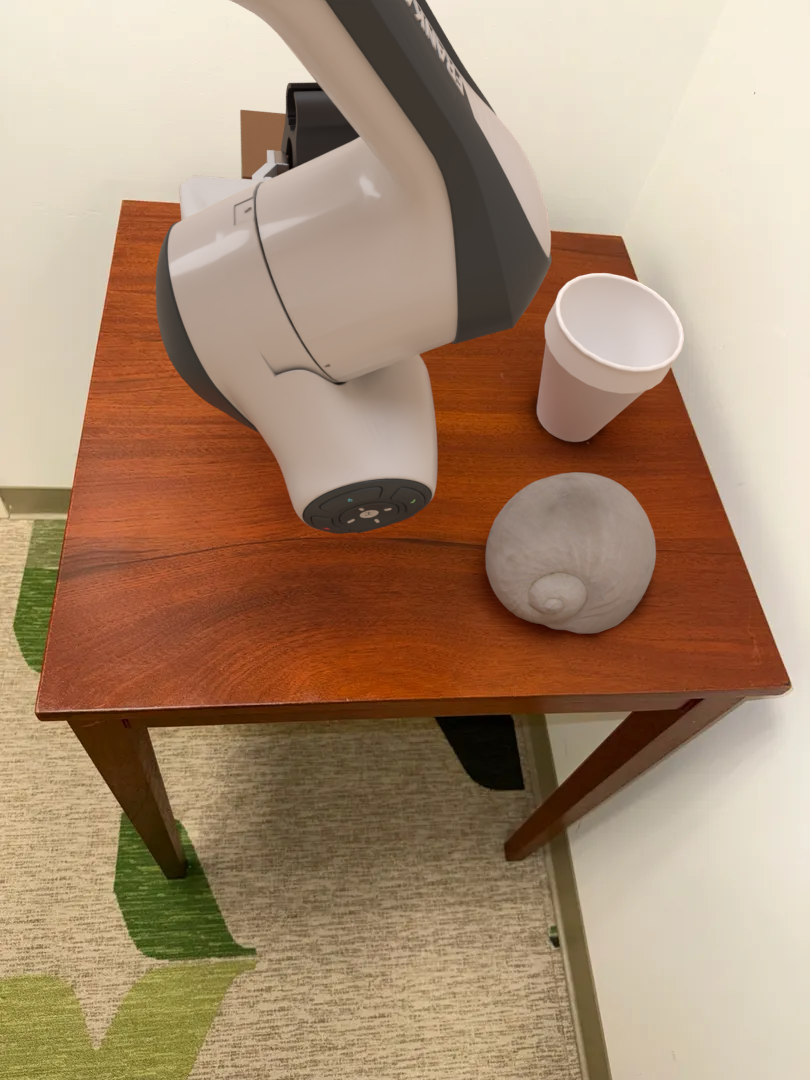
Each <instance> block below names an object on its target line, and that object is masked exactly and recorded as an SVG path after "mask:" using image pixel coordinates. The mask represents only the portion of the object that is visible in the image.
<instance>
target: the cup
mask: <svg viewBox="0 0 810 1080" xmlns="http://www.w3.org/2000/svg"><path fill="white" fill-rule="evenodd" d="M681 322H682V321H681V320H680V318H679V316H678V314H677V312H676V311H675V310H674V308H673V307H672V306H671V305H670V303H669V302H668V301H667V300H666V299H665V298H664V297H663V296H661V295H660V294H659V293H658V292H656V291H655V290H653V289H652V288H650V287H648V286H646V285H645V284H643V283H641V282H640V281H638V280H635V279H631V278H630V277H628V276H624V275H618V274H613V273H608V272H607V273H606V272H601V273H599V272H592V273H587V274H583V275H579V276H577V277H574V278H573V279H571V280H569V281H567V282H566V283H565V284H564V285H563V286H562V287H561V288H560V290H559V291H558V292H557V296H556V298H555V301H554V303H553V305H552V307H551V308H550V311H549V312H548V314H547V317H546V319H545V323H544V339H545V344H544V352H543V359H542V366H541V374H540V379H539V388H538V395H537V402H536V415H537V418H538V422H539V423H540V425H541V426H542V427H543V429H545V430H546V431H547V432H548V433H549V434H550V435H552V436H554V437H555V438H557V439H560V440H562V441H565V442H570V443H571V442H572V443H579V442H581V443H582V442H584V441H588V440H590V439H591V438H592V437H594V436H595V435H596V434H597V433H598V432H600V430H602V429H603V428H604V427H606V425H608V423H610V422H611V421H612V420H614V419H615V418H616V417H617V416H618V415H619V414H620V413H621V412H622V411H624V410H625V409H626V408H627V407H628V406H629V405H631V404H632V403H633V402H634V401H635V400H636V399H638V398H639V397H640V396H642V394H644V393H645V392H646V391H648V390H651V389H653V388H654V387H656V386H657V385H659V384H660V383H662V382H663V380H664V378H665V377H666V376H667V374H668V372H670V369H671V367H672V366H673V364H674V362H675V361H676V360H677V359H678V357H679V355H680V354H681V353H682V351H683V347H684V341H685V333H684V328H683V324H682V323H681Z"/></svg>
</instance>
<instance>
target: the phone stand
mask: <svg viewBox="0 0 810 1080" xmlns="http://www.w3.org/2000/svg"><path fill="white" fill-rule="evenodd" d="M285 114H286V117H285V126H284V132H283V139H282V145H281V151H283V152H286V153H288V159H289V170H291V169H293V168H295V167H298V166H300V165H302V164H304V163H306V162H308V161H310V160H313V159H315V158H317V157H319V156H321V155H323V154H325V153H328V152H330V151H332V150H334V149H336V148H338V147H341V146H343V145H345V144H347V143H349V142H351V141H353V140H355V139H357V138H358V137H360V136H359V134H358V133H357V132H356V131H355V129H354V128H353V127H352V126H351V124H350V123H349V122H348V121H347V119H346V118H345V117H344V116H343V114H342V113H341V112H340V111H339V110H338V108H337V107H336V106H335V105H334V103H333V102H332V101H331V100H330V98H329V97H328V96H327V95H326V93H325V92H324V91H323V90H322V88H321V87H320V86H319V85H318V83H317V82H316V81H315V82H314V81H313V82H311V81H309V82H288V83H287V85H286V89H285Z"/></svg>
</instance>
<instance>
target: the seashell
mask: <svg viewBox="0 0 810 1080" xmlns="http://www.w3.org/2000/svg"><path fill="white" fill-rule="evenodd" d="M656 546H657V545H656V538H655V534H654V529H653V527H652V524H651V522H650V519H649V517H648V514H647V513H646V512H645V510H644V508H643V507H642V505H641V503H639V501H638V500H637V498H636V497H635V495H633V493H632V492H631V491H630V490H628V489H627V488H625V487H624V486H623V485H622V484H620V483H618V482H617V481H616V480H613V479H611V478H609V477H607V476H603V475H600V474H596V473H591V472H580V471H578V472H577V471H576V472H575V471H573V472H565V473H564V472H563V473H559V474H554V475H550V476H547V477H544V478H541V479H538V480H535V481H533V482H531V483H529V484H527V485H526V486H525V487H523V488H522V489H520V490H519V491H518V492H516V493H515V494H514V495H513V496H512V497H511V498H510V499H508V501H507V502H506V504H504V505H503V507H502V508H501V510H500V511H499V512H498V514H497V515H496V517H495V518H494V521H493V523H492V525H491V528H490V529H489V534H488V536H487V539H486V546H485V571H486V574H487V578H488V581H489V584H490V586H491V589H492V591H493V593H494V594H495V596H496V597H497V599H498V600H499V602H500V603H501V604H502V605H503V606H504V607H505V608H506V609H507V610H508V612H511V613H512V614H513V615H515V616H516V617H517V618H519V619H522V620H524V621H526V622H529V623H532V624H537V625H538V624H539V625H543V626H546V627H547V628H548V629H552V630H555V631H557V630H558V631H568V632H572V633H576V634H599V633H601V632H603V631H606V630H609V629H612V628H616V627H617V626H618V625H619V624H621V623H622V622H623V621H624V620H626V619H627V618H628V617H629V616H630V615H631V613H633V611H634V610H635V608H636V607H637V606H638V605H639V603H640V602H641V600H642V599H643V597H644V595H645V593H646V591H647V590H648V586H649V585H650V582H651V580H652V577H653V573H654V569H655V566H656V559H657V548H656Z"/></svg>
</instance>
